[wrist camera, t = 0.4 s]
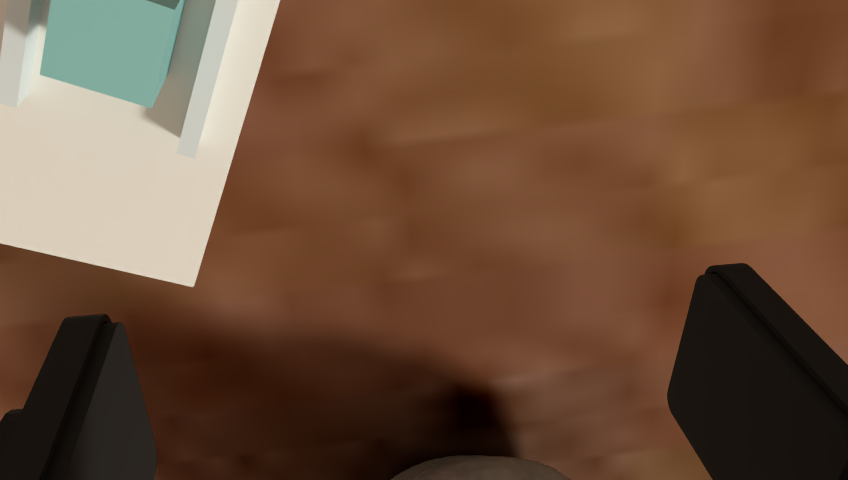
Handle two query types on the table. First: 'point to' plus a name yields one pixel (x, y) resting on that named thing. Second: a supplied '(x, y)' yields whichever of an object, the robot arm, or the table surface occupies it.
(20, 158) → the deck
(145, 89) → the block
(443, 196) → the table surface
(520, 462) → the ceramic pot
